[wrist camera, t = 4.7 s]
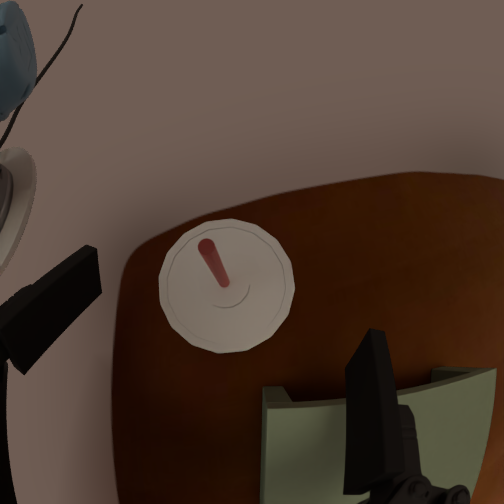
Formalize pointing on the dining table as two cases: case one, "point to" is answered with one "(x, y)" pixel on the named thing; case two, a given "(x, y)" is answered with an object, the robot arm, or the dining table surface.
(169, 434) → the dining table surface
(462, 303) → the dining table surface
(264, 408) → the shelf
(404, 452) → the robot arm
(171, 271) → the beverage cup
